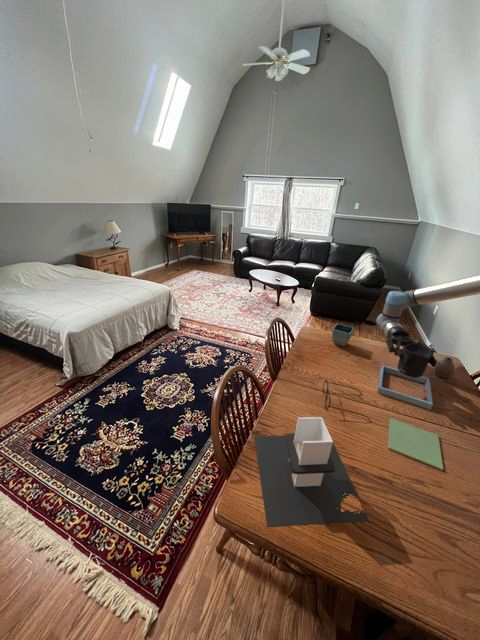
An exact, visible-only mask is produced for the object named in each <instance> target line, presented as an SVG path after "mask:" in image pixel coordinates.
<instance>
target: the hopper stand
mask: <svg viewBox="0 0 480 640" xmlns="http://www.w3.org/2000/svg"><path fill="white" fill-rule="evenodd" d="M330 434H331V433H330V432H329V430H328V428H327V425H326V423H325V421H324V419H323V417H322V416H309V417H308V416H306V417H305V416H303V417H297V422H296V427H295V432H294V433H289V434H286V435H257V436H255V435H254V436H253V439H254V446H255V452H256V460H257V466H258V473H259V479H260V488H261V492H262V493H261V494H262V500H263V507H264V515H265V522H266V527H269V528H270V527H285V526H286V527H287V526H300V525H301V526H303V525H318V524H319V525H321V524H337V523H352V522H353V523H355V522H370V520H369V517H368V515H367V513H366V512H365V513H362V512H363V511H365V509H364V507H363V509H364V510H363V511H361V512H360V513H358V512H359V511H357V512H356V511H354V512H349V510H347V511H344V512H341V510H340V509H341V505H342V504H341V503H342V502H341V501H343V500H344V499H343V498H347V497H346V496H349V495H348V494H354V496H355V498H359V496H358V493H357V491H356V489H355V487H354V484H353V483H352V480H351V478H350V476H349V473H348V471H347V469H346V468H345V465H344V462H343V460H342V459H341V457H340V454H339V452H338V450H337V447H336V446H335V444H334V441H333V439H332V436H331V435H330ZM344 493H346V495H345V494H344ZM343 495H344V496H343ZM352 496H353V495H352ZM356 496H357V497H356ZM342 499H343V500H342ZM343 502H344V501H343ZM340 504H341V505H340ZM362 506H363V505H362ZM362 506H361V507H362ZM337 508H338V509H337ZM355 512H356V513H355ZM354 513H355V514H354ZM357 513H358V514H357Z"/></svg>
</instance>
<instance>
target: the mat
mask: <svg viewBox="0 0 480 640" xmlns="http://www.w3.org/2000/svg"><path fill="white" fill-rule="evenodd" d="M387 440H388V441H387V449H388V450H389V451H393V452H394V453H397V454H400V455H403V456H404V457H407V458H410V459H412V460H415V461H417V462H419V463H422V464H425V465H427V466H429V467H431V468H435V469H437V470H439V471H444V465H443V458H442V451H441V443H440V439H439V434H437V433H434V432H431V431H429V430H425V429H423V428H420V427H418V426H414V425H411V424H410V423H409V424H408V423H406V422H403V421H401V420H398V419H395V418H392V417H389V426H388V439H387Z"/></svg>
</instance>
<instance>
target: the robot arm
mask: <svg viewBox="0 0 480 640" xmlns="http://www.w3.org/2000/svg"><path fill="white" fill-rule="evenodd" d="M476 295H480V274H476V275H472V276H468V277H463V278H458V279H455V280H450V281H445V282H441V283H437V284H434V285H429V286H424V287H419V288H417V289H411V290H406V291H400V290H391V291H389V292H388V293H387V296H386V298H385V302H384V305H383V306H384V307H383V310H382V313H380V314H379V315H378V316H377V318H376V323H377V325H378V328H379V329H380V330H381V331H382V332H383V333H384V335H385V338H384V343H386V346H387V349H388V352H389V353H391V354H392V353H393V355H394V356H396V357H398V358H399V359H400V358H401V359H402V360H403V361H404V363H405V364H408V362H409V359H410V358H409V356H408V355H407V354H406V353H405V352H404V351H403V348H401V347H403V346H405V345H408V344H413V343H414V344H419V345H422V346H425V347H427V348H428V349H430V350H431V351H432V356H431V359H430V361H429V363H428V364H429V365H430V366H431V367H432V368H435V365H436V363H437V362H438V359H436V358H435V355H434V354H435V350H434V348H433V349H432V347H430V346H429V345H427V344H426V343H425V342H423V341H422V340H421V339H419V338H416V339H413V338H412V337H410V336H411V335H410V333H409V332H408V331H407V330H406V328H405V327H404V326H402V324H400V319H401V316H402V313H403V311H404V310H406V309H408V308H412V307H417V306H421V305H427V304H433V303H438V302H443V301H444V302H445V301H447V300H454V299H460V298H464V297H470V296H471V297H472V296H476Z"/></svg>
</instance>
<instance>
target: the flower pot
mask: <svg viewBox="0 0 480 640" xmlns="http://www.w3.org/2000/svg"><path fill="white" fill-rule="evenodd" d="M354 330H355V327H353V326H349V325H346V324H342V323H336V324H335V325H334V326H333V328H332V329H331V339H332V343H333V344H334V345H337V346H339V347H346V345H347V344H348V342H349V341H350V340H351V338H352V336H353V333H354Z"/></svg>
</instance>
